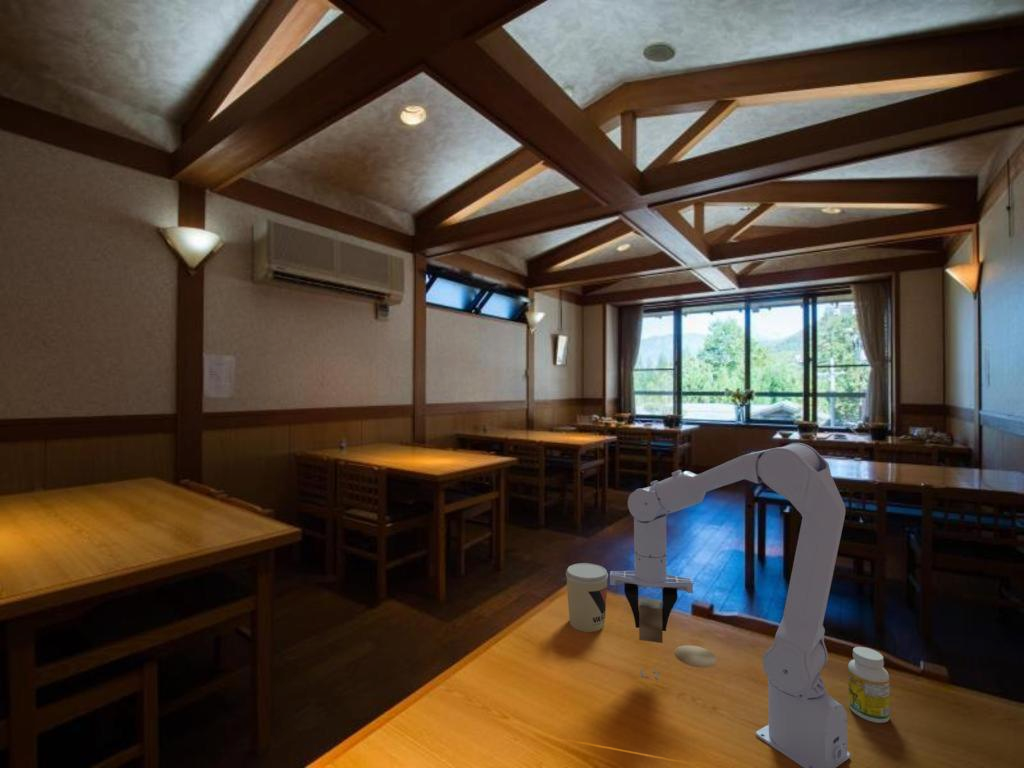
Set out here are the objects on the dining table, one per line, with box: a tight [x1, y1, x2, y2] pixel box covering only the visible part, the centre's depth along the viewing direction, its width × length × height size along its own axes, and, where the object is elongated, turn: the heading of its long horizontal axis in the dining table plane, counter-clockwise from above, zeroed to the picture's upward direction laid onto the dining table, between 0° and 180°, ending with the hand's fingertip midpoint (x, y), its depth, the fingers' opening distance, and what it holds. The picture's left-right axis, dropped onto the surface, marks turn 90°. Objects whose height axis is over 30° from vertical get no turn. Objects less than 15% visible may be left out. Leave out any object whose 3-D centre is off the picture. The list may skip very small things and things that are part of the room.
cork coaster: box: [674, 644, 717, 668], centre depth 94 cm, size 8×8×1 cm
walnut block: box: [638, 596, 663, 644], centre depth 88 cm, size 4×4×6 cm
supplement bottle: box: [847, 646, 891, 724], centre depth 78 cm, size 5×5×10 cm
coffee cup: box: [565, 562, 609, 633], centre depth 107 cm, size 9×9×12 cm
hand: (650, 626), depth 88 cm, fingers closed on walnut block, 4 cm apart
